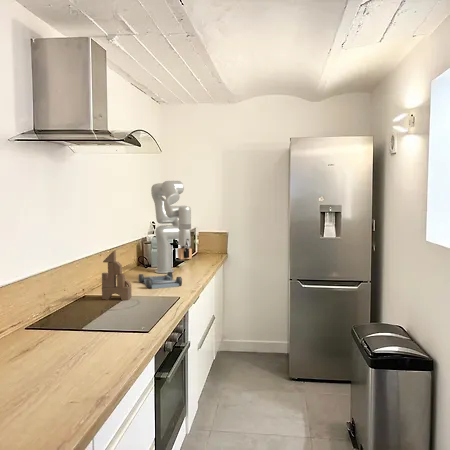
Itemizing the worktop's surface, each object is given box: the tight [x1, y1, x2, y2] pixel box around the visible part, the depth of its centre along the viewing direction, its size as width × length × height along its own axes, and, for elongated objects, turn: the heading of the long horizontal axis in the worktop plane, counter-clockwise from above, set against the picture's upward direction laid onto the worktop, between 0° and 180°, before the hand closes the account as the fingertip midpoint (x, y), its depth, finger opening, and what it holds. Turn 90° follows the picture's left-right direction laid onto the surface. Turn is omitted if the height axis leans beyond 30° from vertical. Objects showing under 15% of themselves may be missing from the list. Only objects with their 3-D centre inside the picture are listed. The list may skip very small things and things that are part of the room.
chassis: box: [138, 272, 183, 290], centre depth 278 cm, size 24×20×5 cm
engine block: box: [177, 247, 193, 260], centre depth 284 cm, size 5×7×6 cm
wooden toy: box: [101, 250, 133, 301], centre depth 240 cm, size 16×7×25 cm, turn 83°
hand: (184, 256), depth 284 cm, fingers closed on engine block, 5 cm apart
